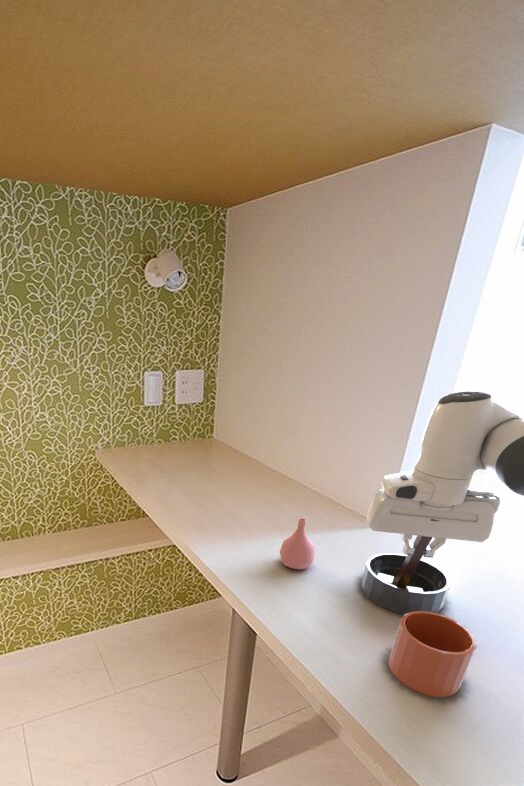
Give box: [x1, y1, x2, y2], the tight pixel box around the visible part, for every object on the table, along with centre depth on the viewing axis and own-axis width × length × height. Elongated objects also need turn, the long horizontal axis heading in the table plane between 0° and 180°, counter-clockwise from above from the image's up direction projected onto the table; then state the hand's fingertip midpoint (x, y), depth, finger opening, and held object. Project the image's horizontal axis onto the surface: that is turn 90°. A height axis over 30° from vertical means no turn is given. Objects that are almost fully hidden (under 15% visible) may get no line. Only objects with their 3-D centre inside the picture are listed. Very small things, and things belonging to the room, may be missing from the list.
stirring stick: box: [392, 519, 439, 589], centre depth 83 cm, size 2×2×18 cm
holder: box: [388, 611, 478, 698], centre depth 68 cm, size 10×10×9 cm
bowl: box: [360, 552, 451, 615], centre depth 89 cm, size 15×15×6 cm
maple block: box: [377, 573, 394, 584], centre depth 90 cm, size 3×3×3 cm
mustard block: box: [405, 586, 424, 592], centre depth 86 cm, size 3×3×3 cm
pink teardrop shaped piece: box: [279, 517, 316, 570], centre depth 98 cm, size 8×8×12 cm
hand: (417, 554), depth 83 cm, fingers closed on stirring stick, 2 cm apart
